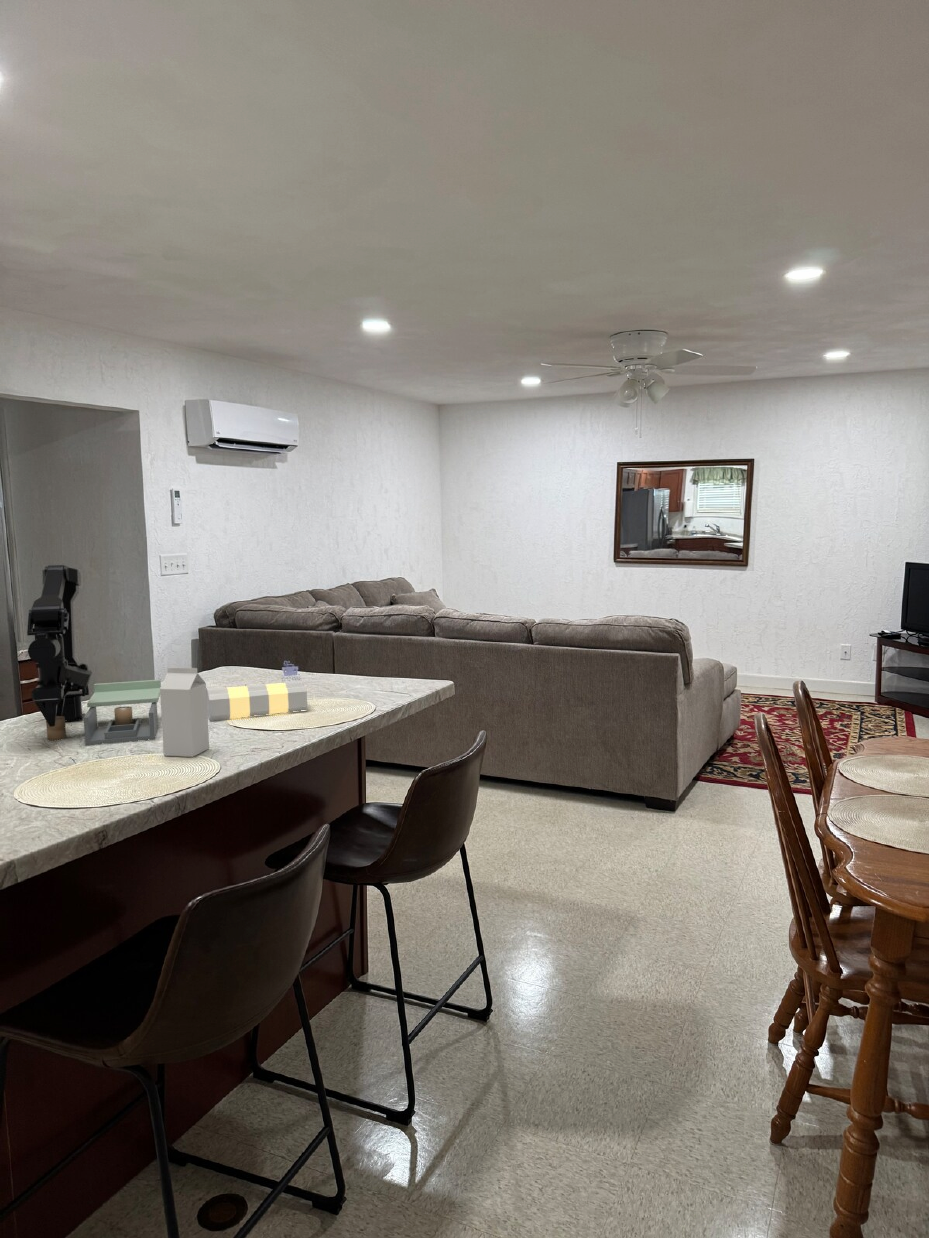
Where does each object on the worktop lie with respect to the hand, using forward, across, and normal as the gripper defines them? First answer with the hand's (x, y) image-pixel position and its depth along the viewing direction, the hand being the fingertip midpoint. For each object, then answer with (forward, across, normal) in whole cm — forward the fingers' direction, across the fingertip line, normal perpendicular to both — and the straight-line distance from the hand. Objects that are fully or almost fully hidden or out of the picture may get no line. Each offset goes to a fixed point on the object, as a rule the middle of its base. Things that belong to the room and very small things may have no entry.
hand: (55, 721), depth 200 cm
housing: (+4, -3, -15) cm, 16 cm away
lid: (-3, +8, -15) cm, 17 cm away
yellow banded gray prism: (+5, +11, -47) cm, 48 cm away
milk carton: (+4, -24, -30) cm, 39 cm away
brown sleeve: (+4, 0, 0) cm, 4 cm away
